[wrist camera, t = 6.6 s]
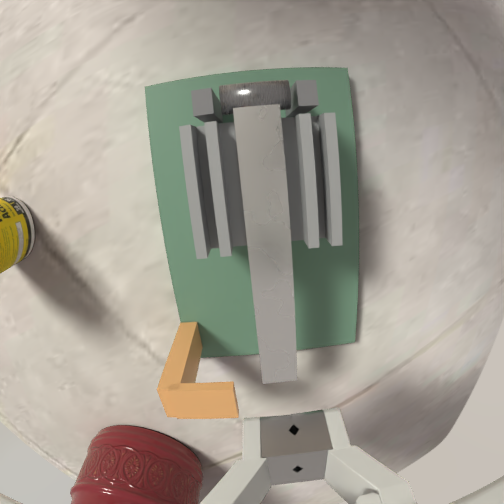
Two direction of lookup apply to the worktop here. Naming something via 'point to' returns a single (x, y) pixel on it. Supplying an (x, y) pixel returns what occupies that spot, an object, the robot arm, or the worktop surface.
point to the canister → (137, 469)
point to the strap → (266, 218)
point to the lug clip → (193, 382)
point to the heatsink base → (232, 273)
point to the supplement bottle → (14, 232)
